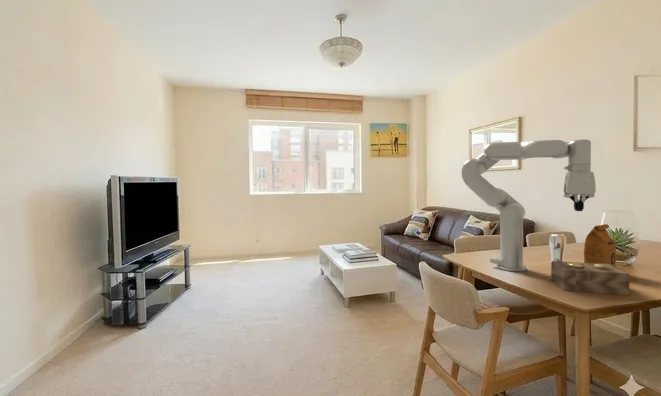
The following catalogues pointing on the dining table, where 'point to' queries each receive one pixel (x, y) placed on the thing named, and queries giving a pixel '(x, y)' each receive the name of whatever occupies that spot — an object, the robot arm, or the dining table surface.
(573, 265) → the brass peg
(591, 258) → the coffee package
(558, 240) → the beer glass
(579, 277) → the walnut block
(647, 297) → the dining table surface
